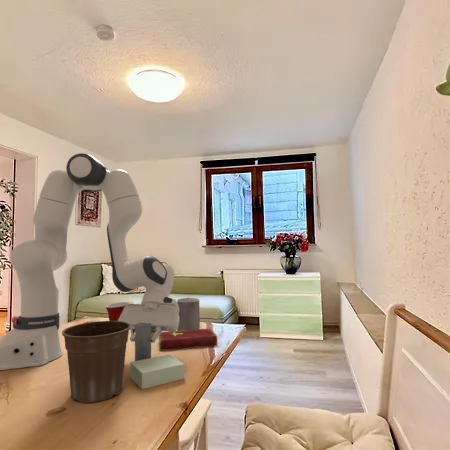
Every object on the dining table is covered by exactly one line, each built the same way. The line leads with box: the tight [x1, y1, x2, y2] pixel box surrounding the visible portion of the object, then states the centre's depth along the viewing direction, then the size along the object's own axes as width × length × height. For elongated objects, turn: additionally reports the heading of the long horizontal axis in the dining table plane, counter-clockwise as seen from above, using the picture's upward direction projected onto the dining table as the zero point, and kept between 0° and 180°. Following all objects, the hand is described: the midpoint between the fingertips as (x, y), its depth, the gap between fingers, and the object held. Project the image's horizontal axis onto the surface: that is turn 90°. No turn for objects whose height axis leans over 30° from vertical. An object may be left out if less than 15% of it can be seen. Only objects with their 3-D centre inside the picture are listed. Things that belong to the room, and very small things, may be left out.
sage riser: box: [129, 354, 185, 390], centre depth 93 cm, size 12×10×4 cm
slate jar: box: [134, 323, 152, 361], centre depth 106 cm, size 5×5×12 cm
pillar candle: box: [176, 296, 201, 331], centre depth 145 cm, size 10×10×15 cm
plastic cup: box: [104, 301, 131, 321], centre depth 147 cm, size 11×11×12 cm
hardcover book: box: [158, 328, 218, 351], centre depth 127 cm, size 12×21×4 cm, turn 105°
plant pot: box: [61, 320, 131, 404], centre depth 84 cm, size 16×16×16 cm
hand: (142, 341), depth 105 cm, fingers closed on slate jar, 5 cm apart
